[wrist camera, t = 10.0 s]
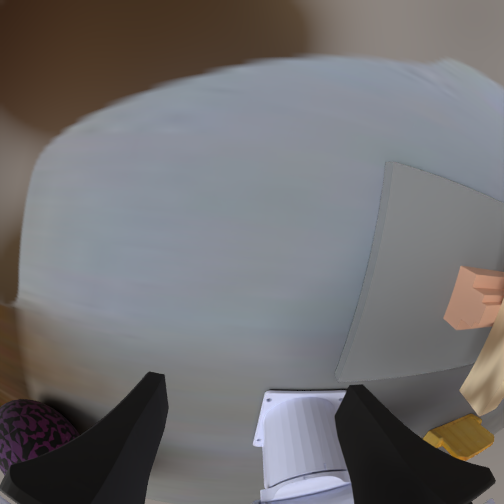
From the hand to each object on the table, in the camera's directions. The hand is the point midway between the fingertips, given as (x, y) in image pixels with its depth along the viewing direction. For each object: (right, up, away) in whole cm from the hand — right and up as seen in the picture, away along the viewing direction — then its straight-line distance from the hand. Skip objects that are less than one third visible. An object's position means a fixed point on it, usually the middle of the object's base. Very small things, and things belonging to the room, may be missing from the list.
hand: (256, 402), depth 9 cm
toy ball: (-28, -18, +16) cm, 36 cm away
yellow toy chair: (+31, -23, +18) cm, 43 cm away
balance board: (+18, +2, +10) cm, 21 cm away
